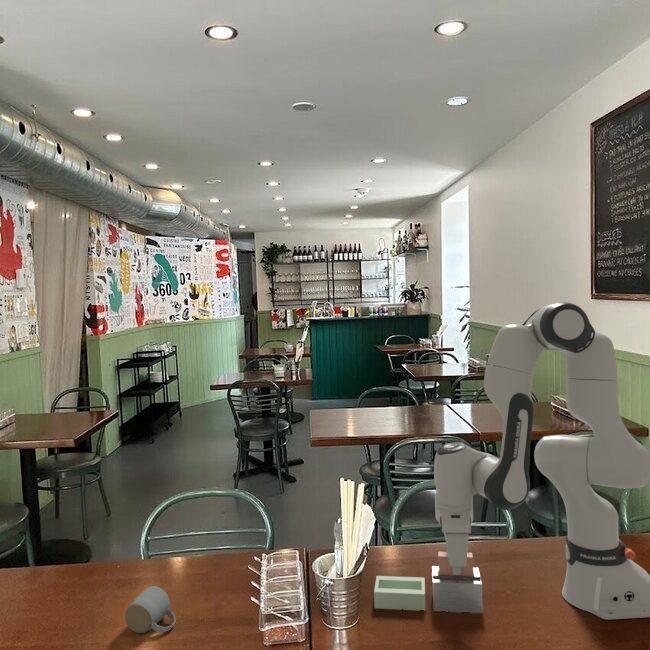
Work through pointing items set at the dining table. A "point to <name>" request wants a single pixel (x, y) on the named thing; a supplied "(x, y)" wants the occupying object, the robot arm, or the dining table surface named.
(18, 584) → the dining table surface
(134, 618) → the ceramic mug
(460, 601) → the dispenser
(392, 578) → the stand
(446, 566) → the ticket
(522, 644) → the dining table surface
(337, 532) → the wineglass
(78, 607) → the dining table surface
